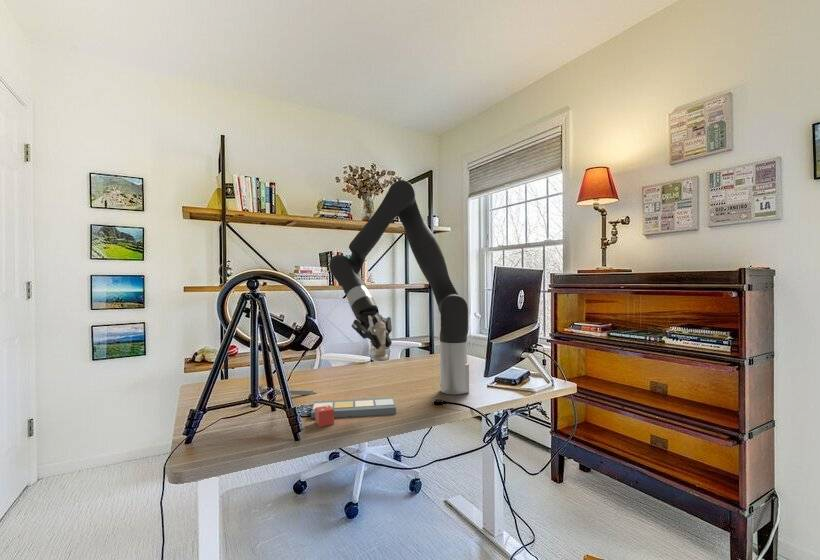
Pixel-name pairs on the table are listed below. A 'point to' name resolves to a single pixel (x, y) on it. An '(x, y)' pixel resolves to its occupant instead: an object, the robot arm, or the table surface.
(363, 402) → the board
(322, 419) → the die
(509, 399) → the table surface
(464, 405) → the table surface
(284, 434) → the table surface
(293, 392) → the caliper
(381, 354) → the pawn
